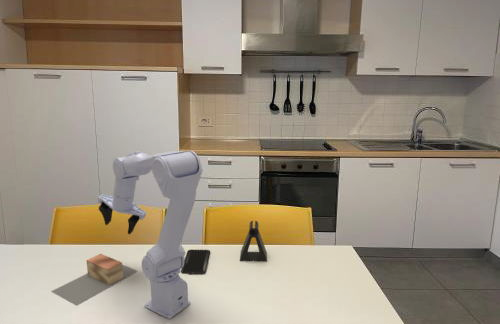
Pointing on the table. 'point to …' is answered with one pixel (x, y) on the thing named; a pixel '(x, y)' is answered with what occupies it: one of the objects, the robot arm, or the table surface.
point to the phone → (196, 262)
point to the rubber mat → (87, 287)
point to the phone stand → (262, 251)
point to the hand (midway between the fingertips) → (119, 227)
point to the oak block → (104, 269)
